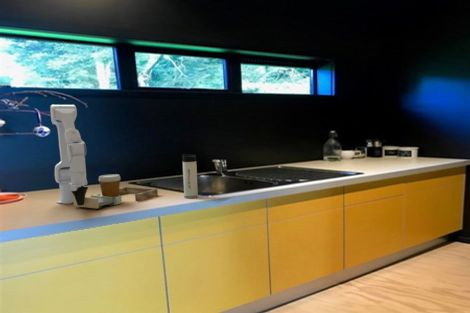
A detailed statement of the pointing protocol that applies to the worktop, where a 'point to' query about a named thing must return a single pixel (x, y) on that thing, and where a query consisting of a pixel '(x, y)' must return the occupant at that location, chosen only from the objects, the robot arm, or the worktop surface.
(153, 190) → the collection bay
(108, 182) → the disposable coffee cup
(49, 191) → the worktop surface
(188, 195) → the travel mug
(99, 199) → the beige grey flat-sided piece
